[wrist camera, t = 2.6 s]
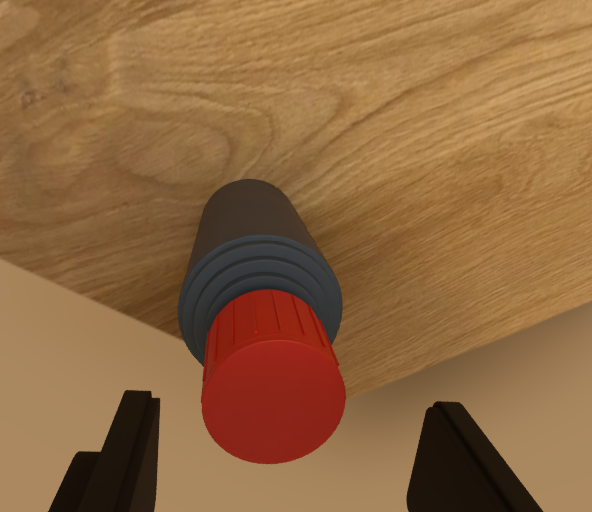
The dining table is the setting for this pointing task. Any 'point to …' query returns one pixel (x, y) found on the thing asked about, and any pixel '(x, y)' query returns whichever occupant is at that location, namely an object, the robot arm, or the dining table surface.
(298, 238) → the bottle
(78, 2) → the dining table surface
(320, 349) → the cap
